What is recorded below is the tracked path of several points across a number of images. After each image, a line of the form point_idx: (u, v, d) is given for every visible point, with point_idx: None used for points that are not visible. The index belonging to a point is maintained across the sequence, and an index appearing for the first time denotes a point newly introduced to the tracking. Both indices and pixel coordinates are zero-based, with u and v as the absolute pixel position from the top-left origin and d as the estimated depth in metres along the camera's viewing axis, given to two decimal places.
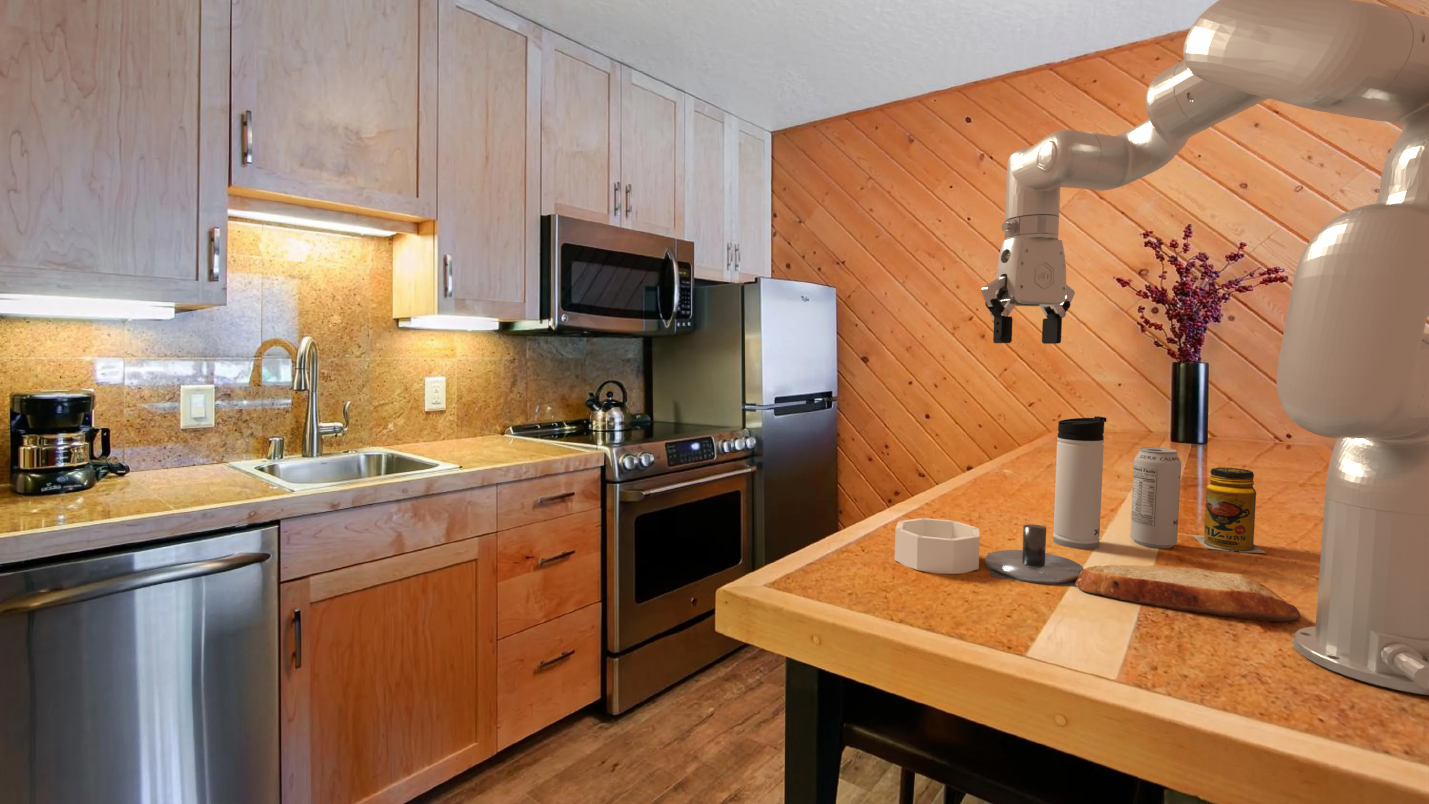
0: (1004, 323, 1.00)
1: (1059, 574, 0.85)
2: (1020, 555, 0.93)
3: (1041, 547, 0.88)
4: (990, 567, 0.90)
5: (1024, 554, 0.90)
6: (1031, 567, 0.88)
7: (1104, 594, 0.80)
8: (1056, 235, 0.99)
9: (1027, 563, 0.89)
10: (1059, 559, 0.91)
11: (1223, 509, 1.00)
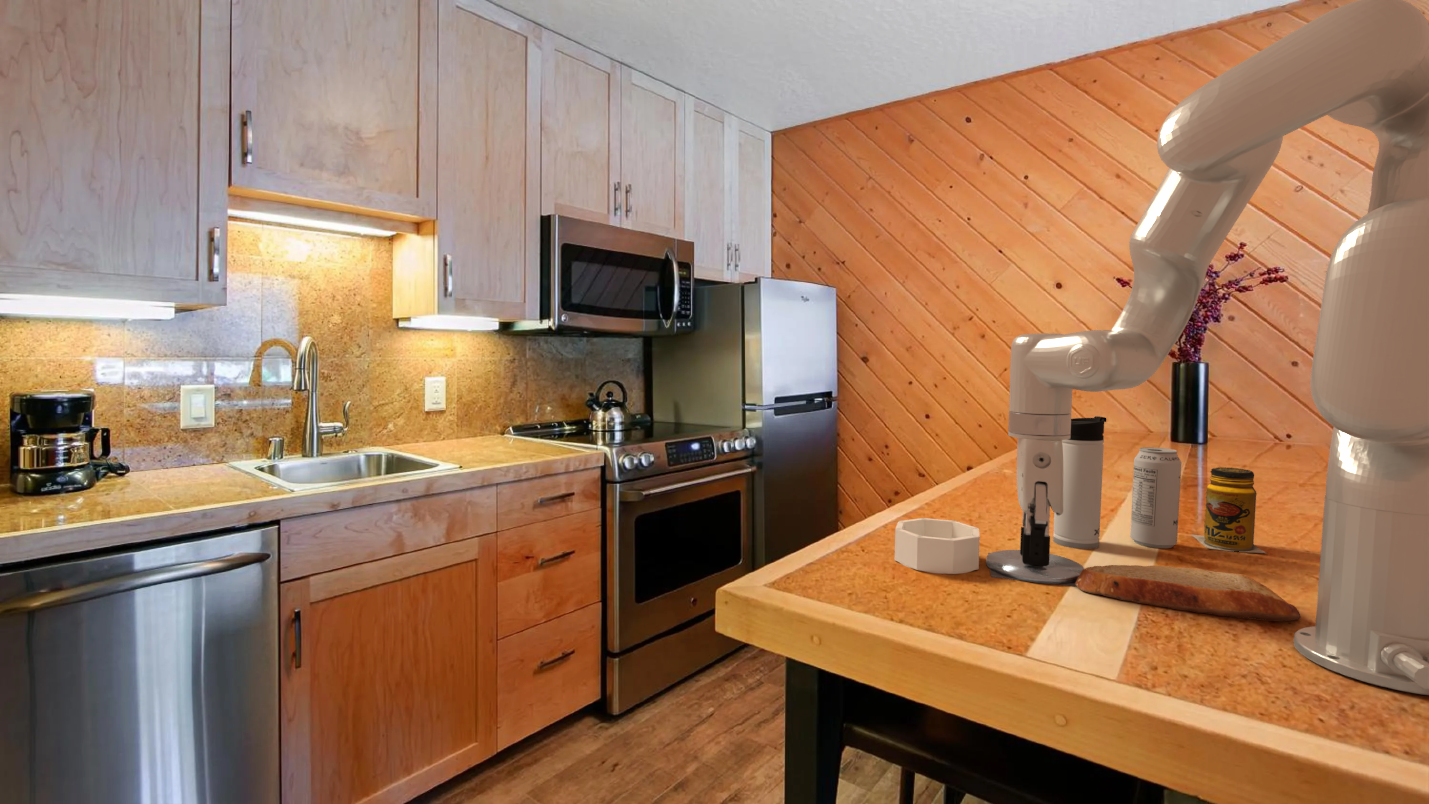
0: None
1: (1060, 574, 0.85)
2: (1021, 555, 0.93)
3: None
4: (991, 567, 0.90)
5: None
6: (1031, 567, 0.88)
7: (1104, 594, 0.80)
8: None
9: None
10: (1059, 559, 0.91)
11: (1223, 509, 1.00)
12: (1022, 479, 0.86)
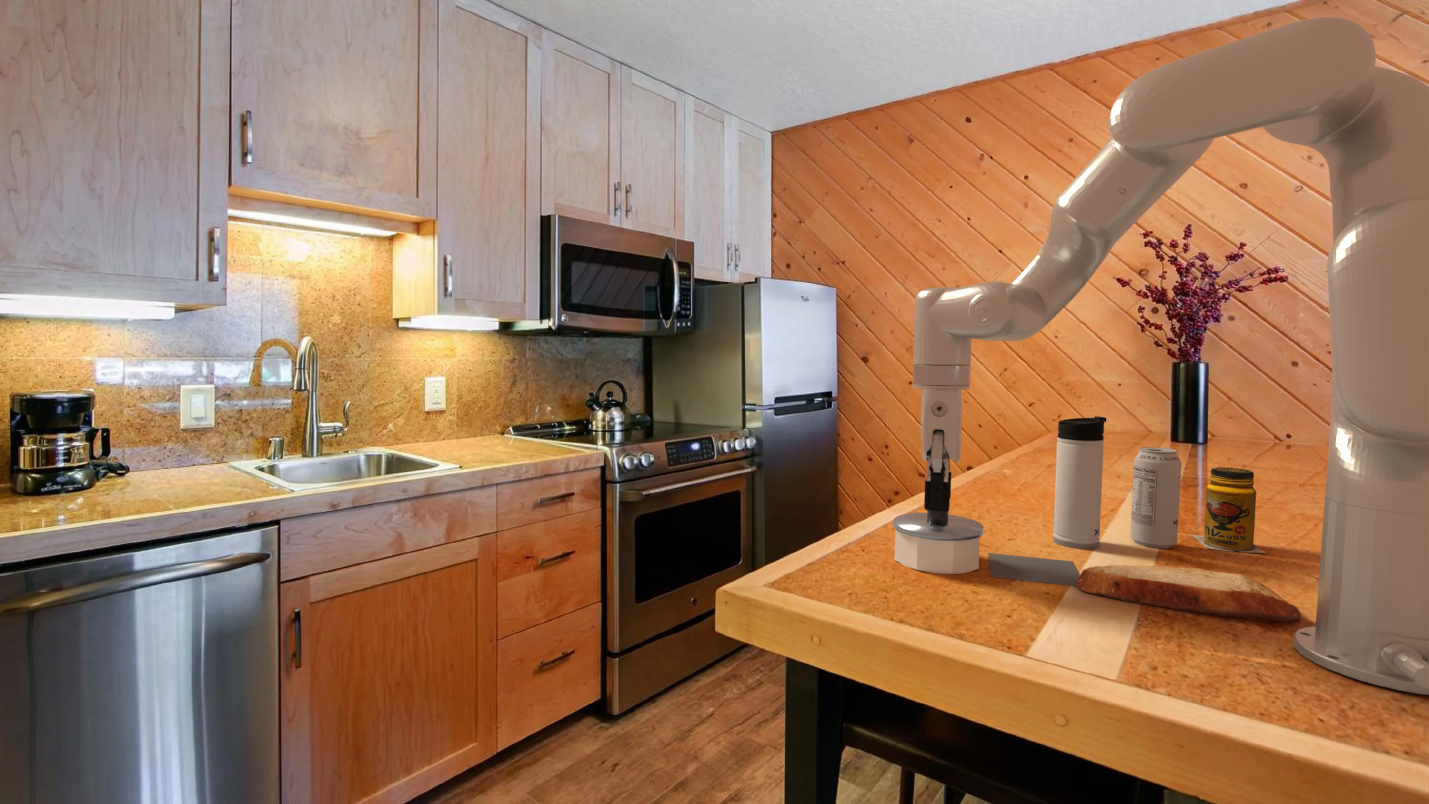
0: (943, 489, 0.88)
1: (957, 531, 0.88)
2: None
3: None
4: (895, 527, 0.93)
5: (928, 514, 0.93)
6: (933, 526, 0.91)
7: (1105, 594, 0.79)
8: None
9: (930, 523, 0.92)
10: (963, 520, 0.95)
11: (1223, 509, 1.00)
12: (922, 428, 0.89)
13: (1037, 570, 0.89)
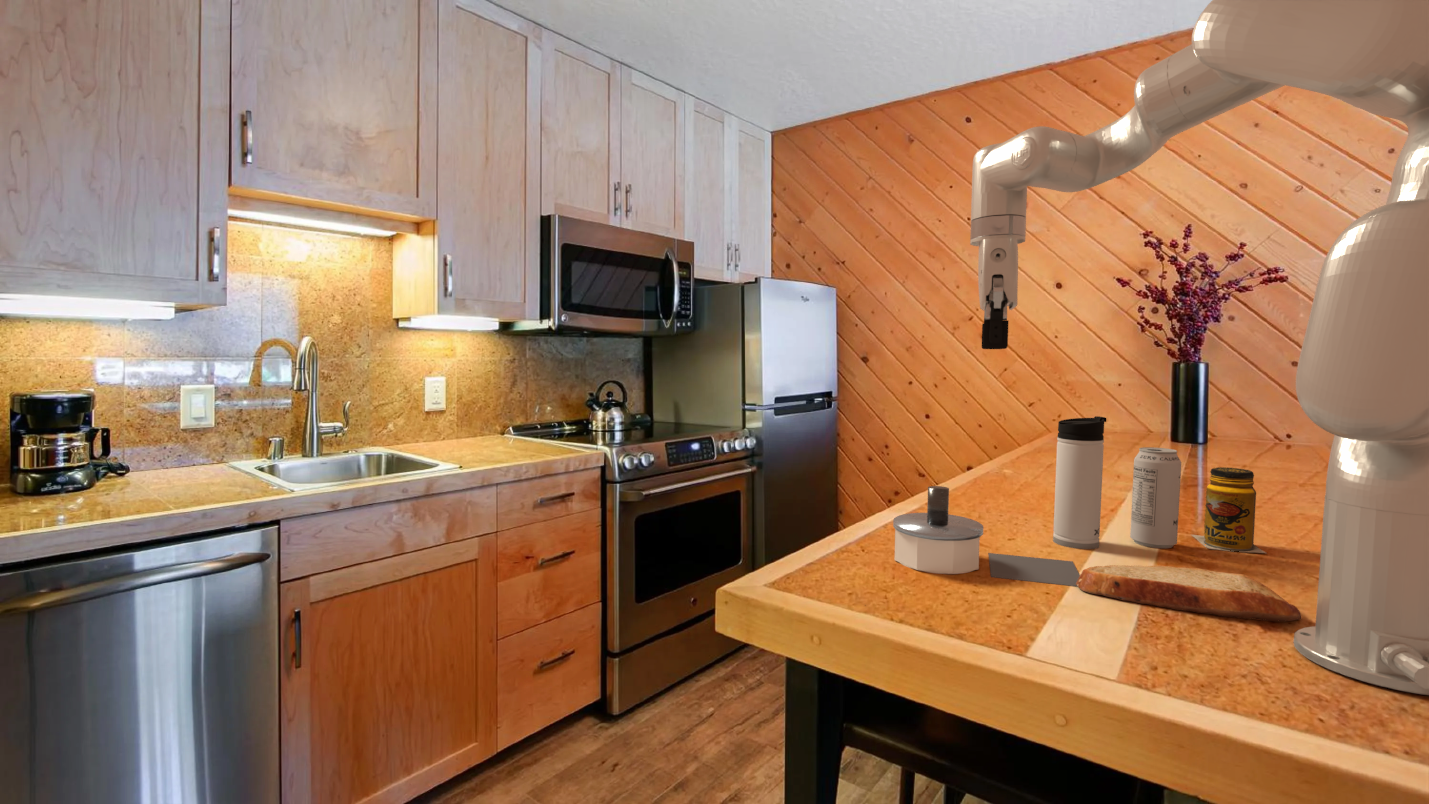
0: (1002, 327, 0.94)
1: (957, 531, 0.88)
2: None
3: (943, 507, 0.91)
4: (895, 527, 0.93)
5: (928, 514, 0.93)
6: (933, 526, 0.91)
7: (1105, 594, 0.79)
8: None
9: (930, 523, 0.92)
10: (963, 520, 0.95)
11: (1223, 509, 1.00)
12: (981, 275, 0.95)
13: (1037, 570, 0.89)
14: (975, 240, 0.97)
